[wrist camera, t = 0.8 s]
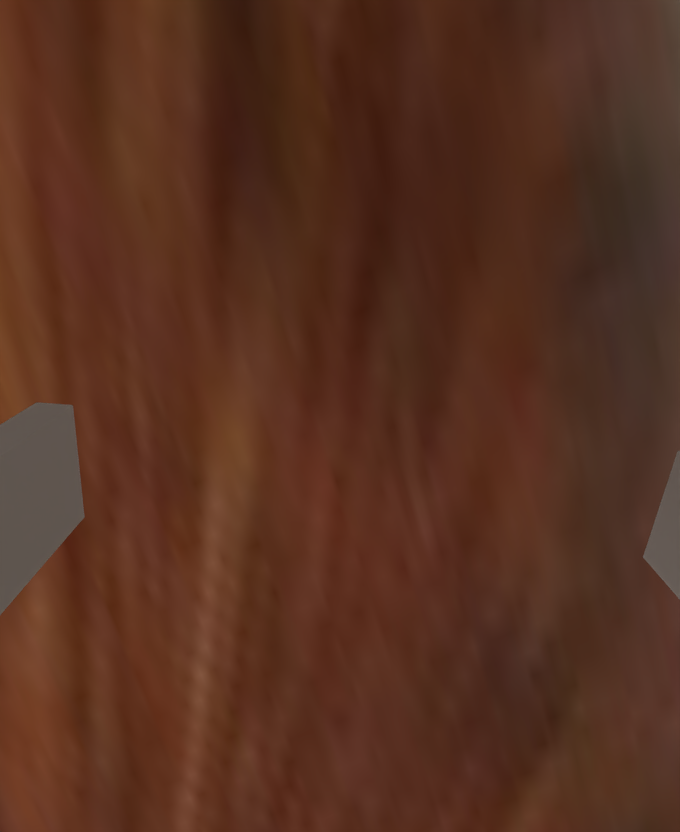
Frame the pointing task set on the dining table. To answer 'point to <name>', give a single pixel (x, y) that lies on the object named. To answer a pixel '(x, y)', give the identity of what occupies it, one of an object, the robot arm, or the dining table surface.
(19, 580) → the robot arm
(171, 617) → the dining table surface
